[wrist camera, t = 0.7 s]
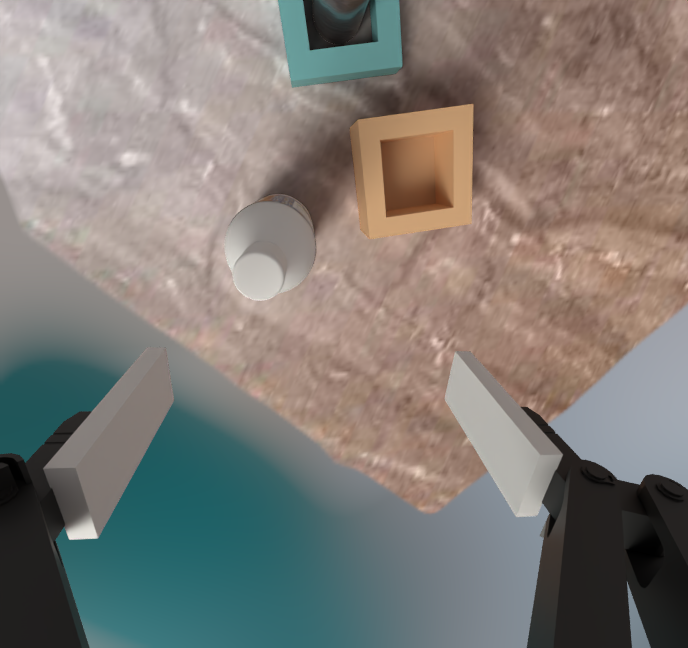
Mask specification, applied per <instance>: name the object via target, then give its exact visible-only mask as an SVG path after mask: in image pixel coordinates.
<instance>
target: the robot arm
mask: <svg viewBox="0 0 688 648" xmlns="http://www.w3.org/2000/svg"><path fill="white" fill-rule="evenodd" d="M173 401H174V397H173V391H172V384H171V378H170V371H169V364H168V358H167V351H166V348H154V347H147V348H146V349H145V351H144V352H143V353H142V354H141V355H140V356H139V357H138V359H137V360H136V361H135V362H134V363H133V365H132V366H131V367H130V368H129V369H128V370H127V371H126V373H125V374H124V375H123V376H122V377H121V378H120V380H119V381H118V382H117V383H116V384H115V385H114V387H113V388H112V389H111V390H110V391H109V393H108V394H107V395H106V396H105V397H104V398H103V399H102V401H101V402H100V403H99V404H98V405H97V406H96V408H95V409H94V410H93V411H92V412H78V413H77V414H75V415H74V416H72V417H71V418H69V419H67V420H66V421H64V422H63V423H62V424H61V425H60V426H59V427H58V429H57V430H56V431H55V432H54V434H53V435H51V436H50V437H49V438H48V439H47V440H46V442H45V444H44V445H42V446H41V447H40V448H39V449H38V450H37V451H36V452H35V453H34V454H33V455H32V456H31V458H30V459H29V460H28V461H27V462H26V463H25V462H24V460H23V458H22V457H21V456H20V455H16V454H12V453H10V454H0V648H89V645H88V641H87V638H86V635H85V632H84V629H83V625H82V622H81V619H80V616H79V613H78V609H77V607H76V603H75V600H74V597H73V593H72V590H71V587H70V584H69V581H68V578H67V574H66V571H65V568H64V565H63V562H62V558H61V555H60V552H59V549H58V546H57V543H56V541H55V540H56V538H57V537H58V535H59V533H60V532H61V530H62V529H63V527H65V529H66V532H67V535H68V537H69V539H70V540H72V539H91V538H92V539H93V538H98V537H99V535H100V534H101V532H102V530H103V528H104V526H105V525H106V523H107V521H108V519H109V517H110V515H111V514H112V512H113V510H114V508H115V506H116V505H117V503H118V501H119V499H120V497H121V495H122V494H123V492H124V490H125V488H126V486H127V485H128V483H129V481H130V479H131V477H132V476H133V474H134V472H135V470H136V468H137V466H138V465H139V463H140V461H141V459H142V457H143V456H144V454H145V452H146V450H147V448H148V446H149V445H150V443H151V441H152V439H153V437H154V436H155V434H156V432H157V430H158V428H159V426H160V424H161V423H162V421H163V419H164V417H165V416H166V414H167V412H168V410H169V408H170V406H171V405H172V403H173ZM445 401H446V402H447V404H448V405H449V407H450V409H451V410H452V412H453V414H454V415H455V417H456V419H457V420H458V422H459V424H460V425H461V427H462V429H463V430H464V432H465V433H466V435H467V437H468V438H469V440H470V442H471V443H472V445H473V447H474V448H475V450H476V452H477V453H478V455H479V457H480V458H481V460H482V461H483V463H484V465H485V466H486V468H487V470H488V471H489V473H490V475H491V476H492V478H493V480H494V481H495V483H496V485H497V486H498V487H499V489H500V491H501V493H502V494H503V496H504V498H505V499H506V500H507V503H508V504H509V506H510V508H511V509H512V511H513V513H514V514H515V516H516V517H524V516H537V515H538V512H539V510H540V507H541V505H542V503H543V504H544V506H545V507H546V508H547V510H548V511H549V513H550V514H549V516H548V518H547V521H546V523H545V525H544V527H543V529H542V532H541V534H540V536H541V537H544V540H543V546H542V553H541V559H540V566H539V572H538V579H537V585H536V592H535V599H534V605H533V611H532V617H531V624H530V631H529V638H528V644H527V648H632V644H631V631H630V617H629V604H628V591H627V582H628V585H629V588H630V590H631V593H632V596H633V599H634V601H635V604H636V607H637V610H638V613H639V616H640V618H641V621H642V624H643V627H644V629H645V633H646V635H647V638H648V641H649V644H650V646H651V648H688V490H687V489H686V488H685V487H683V486H682V485H681V484H679V483H677V482H675V481H674V480H671V479H669V478H666V477H663V476H660V475H654V474H651V475H646V476H645V477H644V479H643V481H642V482H641V484H640V485H638V484H634V483H629V482H625V481H620V480H617V479H616V477H615V476H614V475H613V474H612V473H611V472H610V471H608V470H607V469H605V468H604V467H602V466H600V465H598V464H596V463H594V462H591V461H588V460H581V459H580V458H579V456H578V455H576V453H574V451H573V450H572V449H571V448H570V447H569V446H568V445H567V444H566V443H565V442H564V441H563V440H562V439H561V438H560V437H559V436H558V434H555V431H554V430H553V429H552V428H551V427H550V426H548V424H547V423H546V422H545V421H544V420H543V418H542V417H541V416H540V415H538V414H537V413H535V412H534V411H532V410H531V409H529V408H528V407H520V406H519V405H518V404H517V403H516V402H515V400H514V399H513V398H512V397H511V396H510V395H509V394H508V393H507V392H506V390H505V389H504V388H503V387H502V386H501V385H500V384H499V383H498V382H497V380H496V379H495V378H494V377H493V376H492V375H491V374H490V373H489V372H488V370H487V369H486V368H485V367H484V366H483V365H482V364H481V363H480V362H479V361H478V359H477V358H476V357H475V356H474V355H473V354H472V353H471V352H468V351H455V355H454V359H453V364H452V368H451V372H450V377H449V381H448V386H447V390H446V394H445Z"/></svg>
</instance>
